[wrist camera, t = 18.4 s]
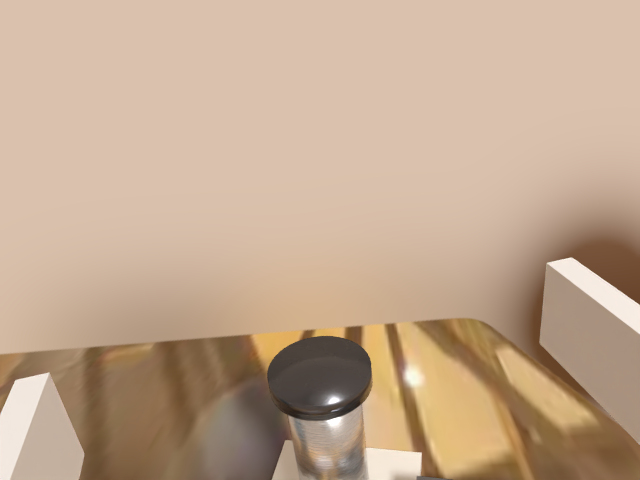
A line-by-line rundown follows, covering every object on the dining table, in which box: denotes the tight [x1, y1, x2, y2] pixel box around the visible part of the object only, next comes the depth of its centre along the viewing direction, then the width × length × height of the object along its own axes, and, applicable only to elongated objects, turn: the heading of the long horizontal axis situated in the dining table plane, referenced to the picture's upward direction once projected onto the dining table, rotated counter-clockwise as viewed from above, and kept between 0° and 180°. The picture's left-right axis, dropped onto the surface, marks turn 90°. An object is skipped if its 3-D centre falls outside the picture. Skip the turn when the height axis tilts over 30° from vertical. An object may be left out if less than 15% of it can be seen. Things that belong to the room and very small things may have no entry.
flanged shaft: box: [267, 336, 372, 480], centre depth 45 cm, size 8×8×16 cm
